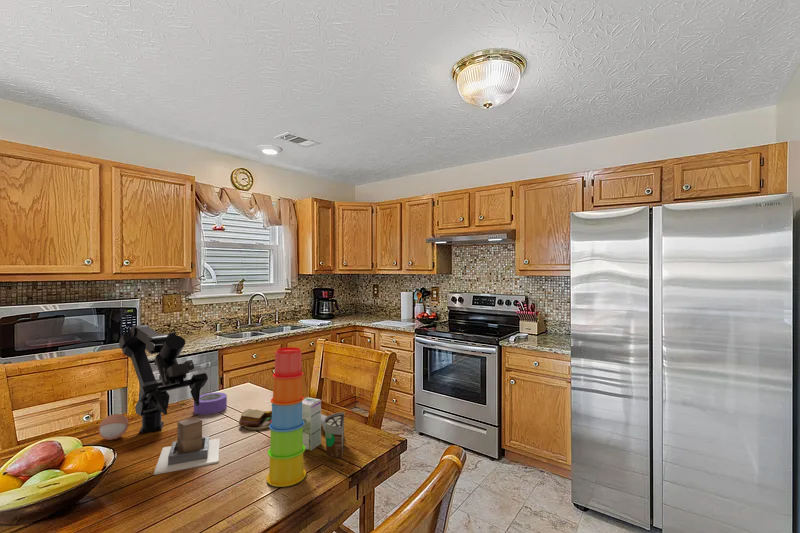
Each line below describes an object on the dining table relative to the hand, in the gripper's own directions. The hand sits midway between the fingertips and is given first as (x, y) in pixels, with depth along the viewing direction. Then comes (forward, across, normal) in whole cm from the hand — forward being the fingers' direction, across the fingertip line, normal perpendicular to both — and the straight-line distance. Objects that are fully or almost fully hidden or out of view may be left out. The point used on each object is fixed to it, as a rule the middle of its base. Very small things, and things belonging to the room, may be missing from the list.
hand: (182, 409), depth 118 cm
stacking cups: (+36, +11, -18) cm, 42 cm away
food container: (+35, +29, -17) cm, 48 cm away
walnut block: (+12, 0, +5) cm, 13 cm away
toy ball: (-9, -11, +28) cm, 31 cm away
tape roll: (-10, +21, +29) cm, 37 cm away
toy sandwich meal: (+10, +26, +9) cm, 29 cm away
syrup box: (+29, +27, -11) cm, 41 cm away
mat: (+13, 0, +5) cm, 14 cm away
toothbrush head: (+23, +38, -4) cm, 44 cm away
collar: (+13, 0, +5) cm, 14 cm away
